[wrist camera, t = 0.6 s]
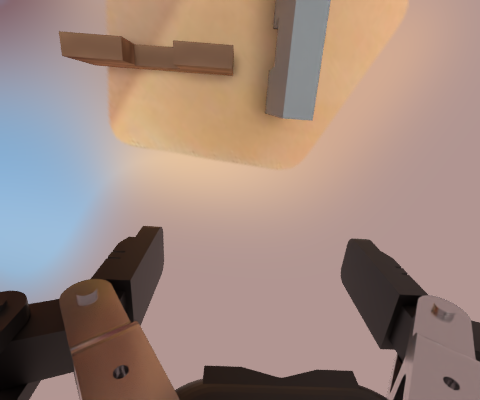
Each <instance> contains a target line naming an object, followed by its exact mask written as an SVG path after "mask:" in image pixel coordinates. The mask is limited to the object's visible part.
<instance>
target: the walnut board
mask: <svg viewBox="0 0 480 400" xmlns="http://www.w3.org/2000/svg"><path fill="white" fill-rule="evenodd" d="M59 36H60V43H61V50H62V56H65V57H68V58H72V59H75V60H79V61H82V62H86V63H89V64H93V65H99V66H112V67H125V68H138V69H152V70H165V71H178V72H191V73H205V74H218V75H231V76H233V58H234V53H233V45H222V44H210V43H197V42H185V41H173V47H162V46H149V45H136V44H133V43H131V42H130V41H128V40H126V39H125V38H123V37H121V36H110V35H97V34H84V33H72V32H60V31H59Z"/></svg>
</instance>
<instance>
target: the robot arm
mask: <svg viewBox="0 0 480 400" xmlns="http://www.w3.org/2000/svg"><path fill="white" fill-rule="evenodd" d="M163 248H164V247H163V229H162V227H153V226H143V227H142V228H141V230H140V231H139V233H138V234H137V235H136V237H128V238H127V239H125V240H123V241H121V242H120V243H118V245H117V246H116V247H115V249H114V250H113V252H111V254H110V255H109V256H108V259H106V260H105V261H104V263H103V264H102V265H101V266H100V268H99V269H98V270H97V272H96V273H95V274H94V275H93V277H92V278H91V279H90V280H84V281H81V282H78V283H76V284H74V285H72V286H70V287H69V288H67V289H66V290H65V291H64V292H63V293H62V294H61V296H60V299H56V300H51V301H45V302H40V303H33V304H28V301H27V297H26V295H25V294H24V293H22V292H18V291H5V292H0V400H29V399H30V397H31V396H32V394H33V392H34V391H35V389H36V387H37V386H38V384H39V383H40V381H41V380H43V379H47V378H51V377H55V376H59V375H63V374H67V373H71V372H74V376H75V381H76V385H77V389H78V394H79V398H80V400H480V323H479V322H475V321H471V319H470V317H469V316H468V315H467V314H466V312H464V311H463V310H462V309H461V308H460V307H458V306H457V305H455V304H453V303H451V302H449V301H447V300H445V299H442V298H440V297H436V296H430V295H428V294H427V293H426V292H425V291H424V290H423V289H422V288H421V287H420V286H419V285H418V284H417V283H416V282H415V281H414V280H413V279H412V278H411V277H410V276H409V275H407V273H406V271H405V270H404V269H403V268H401V266H400V265H399V264H398V263H397V262H396V261H395V260H394V259H393V258H391V257H390V256H388V255H386V254H385V253H383V252H381V251H380V250H379V249H378V248H377V247H376V246H375V245H374V244H373V243H372V241H370V240H367V239H350V240H349V242H348V244H347V248H346V252H345V256H344V260H343V264H342V268H341V279H342V283H343V285H344V287H345V288H346V290H347V292H348V294H349V295H350V297H351V299H352V300H353V302H354V304H355V306H356V307H357V309H358V311H359V313H360V315H361V316H362V318H363V319H364V321H365V323H366V325H367V327H368V328H369V330H370V332H371V334H372V335H373V337H374V339H375V341H376V342H377V344H378V346H379V348H380V349H394V350H396V352H397V355H396V357H395V360H394V365H393V369H392V373H391V378H390V383H389V388H388V392H387V397H386V398H385V397H384V396H382V395H380V394H378V393H376V392H374V391H372V390H370V389H368V388H365V387H363V386H359V385H358V383H357V381H356V378H355V376H354V374H353V372H352V371H336V370H314V371H310V372H306V373H301V374H297V375H293V376H289V377H284V378H279V377H275V376H271V375H268V374H264V373H261V372H257V371H254V370H250V369H246V368H243V367H227V366H204V375H203V379H200V380H196V381H193V382H191V383H188V384H186V385H184V386H182V387H180V388H178V389H176V390H174V388H173V386H172V384H171V382H170V380H169V379H168V377H167V375H166V373H165V371H164V369H163V368H162V366H161V364H160V362H159V360H158V358H157V356H156V354H155V352H154V351H153V349H152V347H151V345H150V343H149V341H148V339H147V338H146V336H145V334H144V332H143V330H142V328H141V326H140V325H141V323H142V321H143V318H144V316H145V313H146V311H147V308H148V306H149V304H150V301H151V299H152V296H153V294H154V291H155V289H156V286H157V284H158V281H159V279H160V276H161V274H162V271H163V265H164V250H163Z"/></svg>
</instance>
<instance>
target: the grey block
mask: <svg viewBox="0 0 480 400" xmlns="http://www.w3.org/2000/svg"><path fill="white" fill-rule="evenodd" d="M330 1H331V0H276V3H275V13H274V24H273V28H275V29H278V34H277V44H276V55H275V65H274V67H273V68H272V69H271V70H270V71H269V78H268V88H267V99H266V110H265V113H266V114H269V115H273V116H276V117H280V118H285V119H299V120H313V114H314V107H315V101H316V94H317V87H318V81H319V74H320V67H321V61H322V54H323V47H324V41H325V34H326V27H327V21H328V14H329V7H330Z"/></svg>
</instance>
